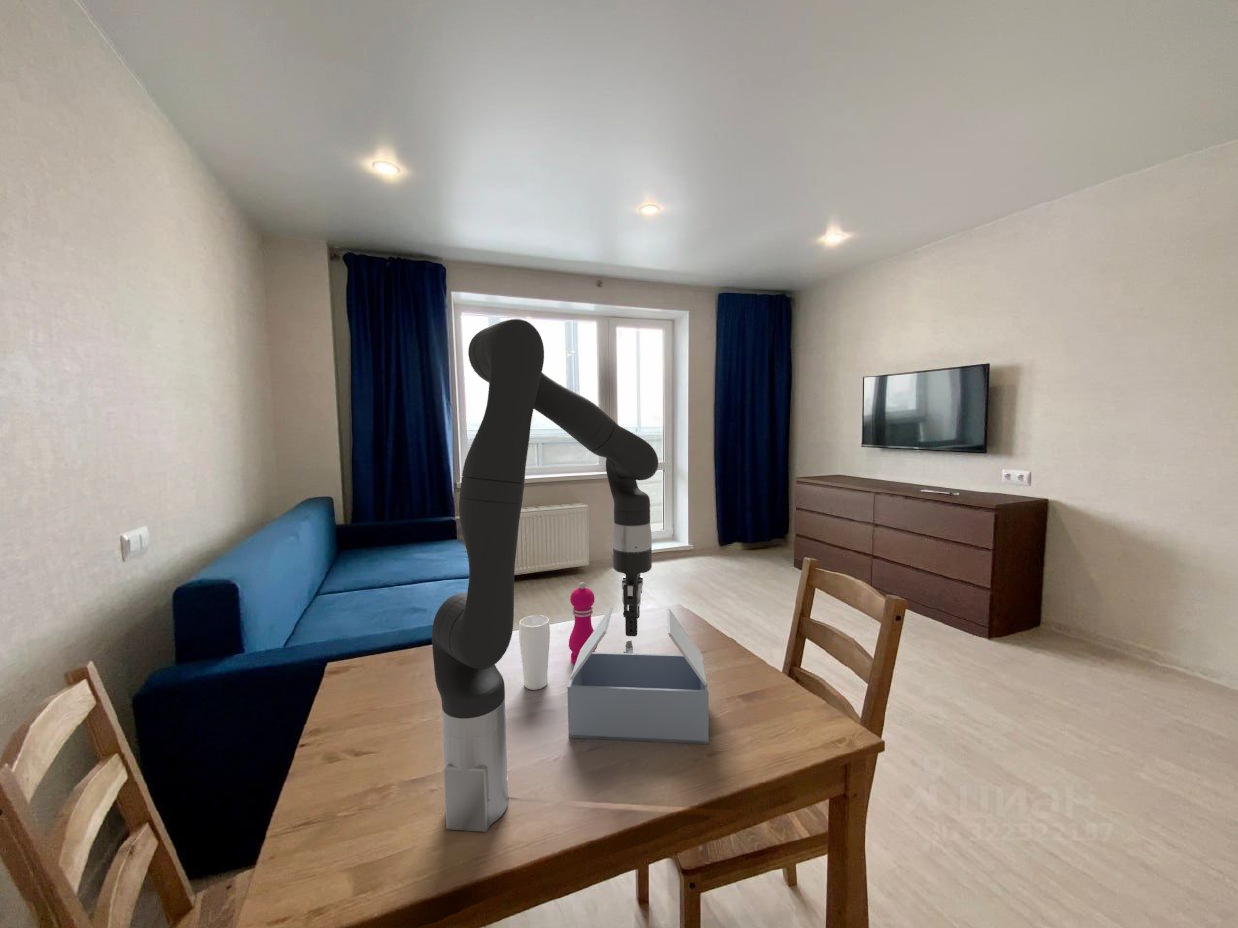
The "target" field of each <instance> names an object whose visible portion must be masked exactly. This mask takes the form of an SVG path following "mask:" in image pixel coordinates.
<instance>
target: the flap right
mask: <svg viewBox="0 0 1238 928" xmlns="http://www.w3.org/2000/svg"><path fill="white" fill-rule="evenodd" d="M666 612H667V613H666V614H667V619H666V620H667V635H668V637H669V638H670V639H671V641H672V642H673V644H674V645H675V647H676V648H677V649H678V651H679V652H680V654H681V655H683V656H684V657H685V659H686V660H687V662H688V663H689V664H690V666H691V667H692V669H693V670H694V671H695V673H696V674H697V676H698V677H699V678H700V680H701V681H702V683H703V684H704V685H706V684H707V685H708V682H707V683H706V680H707V677H705V674H706V670H705V671H704V668H705V665H704V666H703V663H704V659H703V660H702V657H703V655H702V652H701V651H700V649H699V648H698V646H697V645H696V643H695V641H693V639H692V638H691V637H690V635H689V634H688V633H687V631H686V630H685V627H684V626H682V624H681V623H680V621H679V620H678V619H677V617H676V616H675V614H674V613H673V611H672V610H671V609H670V608H667V609H666Z"/></svg>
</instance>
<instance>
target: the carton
mask: <svg viewBox="0 0 1238 928" xmlns="http://www.w3.org/2000/svg"><path fill="white" fill-rule="evenodd" d="M702 660H703V661H704V656H702ZM703 666H704V671H705V672H706V669H705V664H704V662H703ZM705 677H706V673H705ZM706 678H707V677H706ZM706 683H707V684H706V685H704V684H703V683H702V681H701V680H700V678H699V677H698V676H697V674H696V673H695V671H694V670H693V669H692V667H691V666H690V664H689V663H688V662H687V660H686V659H685V657H684V656H683V655H682V654H666V653H665V654H664V653H663V654H662V653H634V652H633V653H624V652H599V651H598V652H596V651H595V652H592V653H591V655H590V656H589V658H588V659H587V660H586V662H585V663H584V665H583V666H582V667H581V669H580V670H579V672H578V673H577V674H576V676H575V677H574V678H573V680H571V679H570V678H569V682H568V685H567V719H568V720H567V721H568V725H567V726H568V727H567V728H568V730H567V731H568V739H586V740H587V739H588V740H610V741H611V740H612V741H629V742H630V741H631V742H650V743H653V742H655V743H673V744H674V743H675V744H692V745H693V744H695V745H696V744H697V745H709V721H710V720H709V717H710V716H709V710H710V709H709V708H710V707H709V704H710V703H709V696H710V694H709V693H710V692H709V687H708V682H707V679H706Z"/></svg>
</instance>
